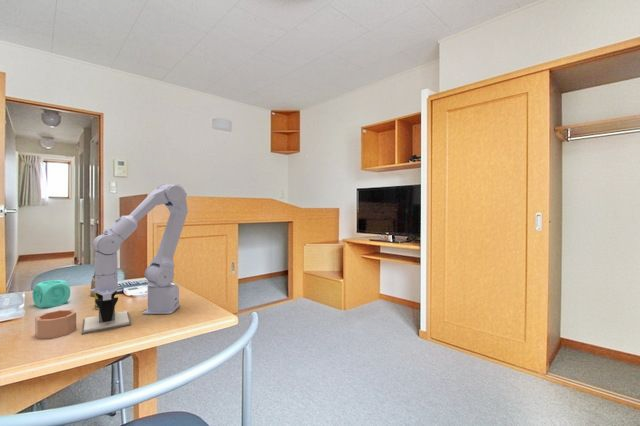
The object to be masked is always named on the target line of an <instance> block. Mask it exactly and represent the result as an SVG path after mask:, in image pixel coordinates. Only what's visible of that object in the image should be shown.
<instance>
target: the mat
mask: <svg viewBox="0 0 640 426" xmlns="http://www.w3.org/2000/svg"><path fill="white" fill-rule="evenodd" d="M129 313H130V312H129V311H128V312H127V315H128V319H129V324H124V325H119V326H113V327H108V328H102V329H97V330H92V331H86V332H84V324H85V318H84V319H83V320H82V327H81V328H82V329H81V335H88V334H91V333H98V332H102V331H108V330H113V329H114V330H115V329H118V328H119V329H120V328H124V327H130V326H132V322H131V318H130V314H129Z"/></svg>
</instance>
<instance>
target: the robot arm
mask: <svg viewBox="0 0 640 426" xmlns="http://www.w3.org/2000/svg"><path fill="white" fill-rule="evenodd" d="M187 195H188V194H187V192H186V190H185V189H184V187H183V186H182V185H181V184H178V183H171V184H166V183H165V184H160V185H158V186H157V187H156V188H155V189H153V190H152V191H151V192H150V193H149V194H148V195H147V196H146V197H145V199H143V201H141V203H139V204H138V206H137V207H136V208H134V209H133V210H132V212H131V213H129V214H128V215H121V216H116V218H115V219H114V221H115V222H114V223H113V224H111V225H110V226H109V227H108V228H107V229H104V230H103V231H102V234H99V235H98V236H96V237H95V238H94V239H93V242H92V243H91V248H92V249H93V250H94V252H95V253H94V256H95V257H94V258H95V259H94V273H95V289H91V288H90V293H93V292H95V293H96V296H97V297H98V299H95V298H94V303H95V302H96V304H97V306H98V307H99V309H98V311H99V310H100V313H101V318H102V321H103V322H108V321H111V320H112V316H113V311H114V307H116V304H117V303H118V301H119V297H117V296H116V294H117V293H118V290H119V284H118V282H119V281H118V276H119V275H118V273H119V272H118V270H119V269H118V251H119V250H120V249H121V246H122V243H123V242H125V240H127V239H128V238H129V237H130V236H131V235H132V234H133V233H134V232H135V231H136V230H137V228H138V227H139V223H138V222H140V221H141V220H142V219H143V218H144V217H145V216H147V214H149V213H150V212H151V211H152V210H153V209H154V208H155V207H156V206H159V205H165V206H166V208H167V210H168V211H169V212H170V214H169V216H168V220H167V222H166V225H165V227H164V231H163V234H162V237H161V239H160V240H161V241H160V244H159V247H158V250H157V253H156V255H155V256H154V257H153V258H152V259H151V261H150V263H149V265H148V266H147V267H146V269H145V270H144V277H145V279H146V281H148V283H147V308H146V310H144V311H143V312H141V314H142V315H161V314H162V315H164V314H167V315H169V314H172V313H174V312H175V311H176V310H177V309H178V308H179V307H180V289H179V288H180V287H179V286H178V285H177V284H172V283H173V280H174V279H175V273H174V272H175V271H174V270H175V269H174V268H175V262H174V256H175V252H176V250H177V246H178V243H179V241H180V237H181V234H182V231H183V227H184V225H185V221H186V218H187V215H188V212H189V210H188V204H187Z"/></svg>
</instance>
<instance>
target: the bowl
mask: <svg viewBox="0 0 640 426" xmlns="http://www.w3.org/2000/svg"><path fill="white" fill-rule="evenodd" d="M34 320H35V325H34V326H35V337H36V338H37V340H38V339H39V340H41V339H42V340H43V339H44V340H45V339H51V340H52V339H55V338H60V337H62V336H66V335H69V334H71V333H74V331H76V330H77V312H76V311H75V310H74V309H59V310H53V311H48V312H45V313H43V314H40V315H38V316H35V319H34Z"/></svg>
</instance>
